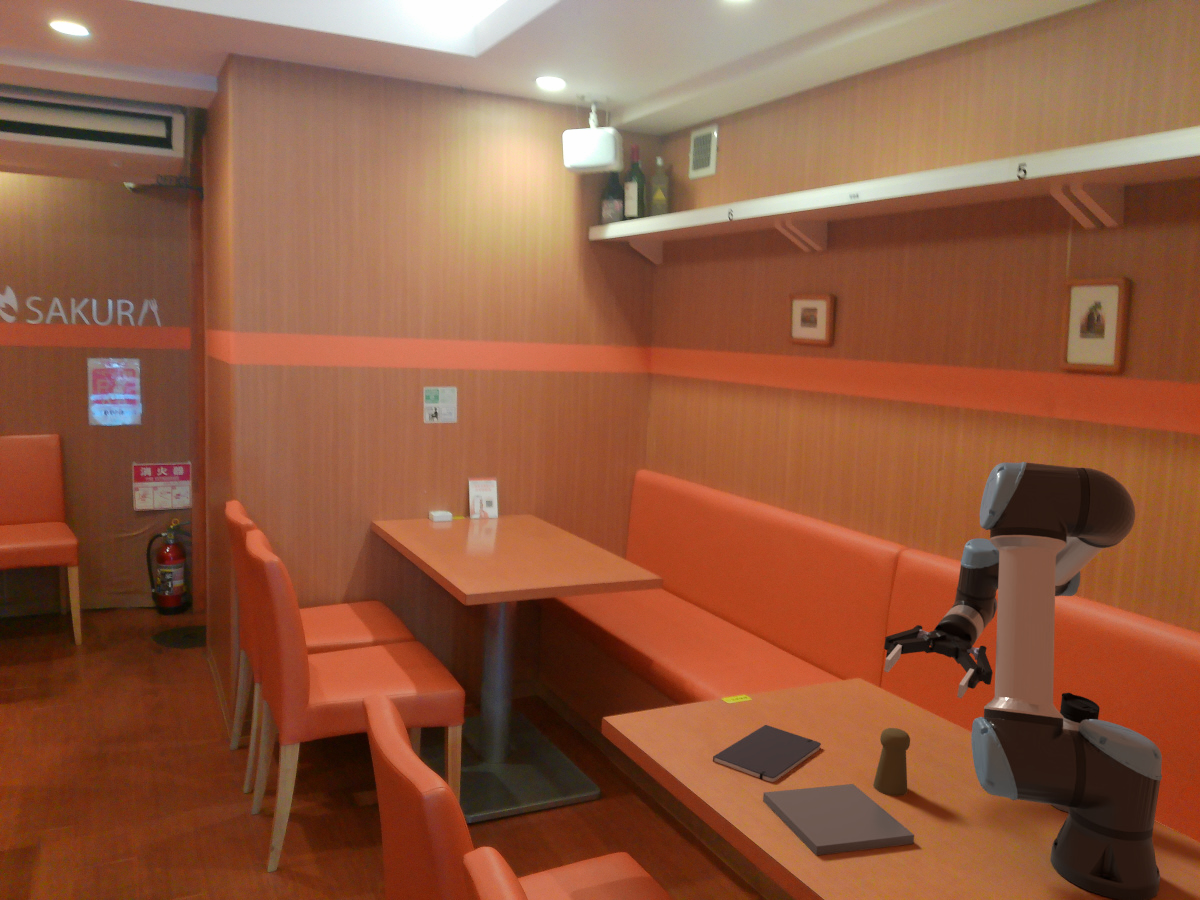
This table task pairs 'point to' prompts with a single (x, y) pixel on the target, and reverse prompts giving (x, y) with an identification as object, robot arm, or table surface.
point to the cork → (892, 763)
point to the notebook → (767, 753)
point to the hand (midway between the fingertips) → (922, 678)
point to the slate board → (837, 819)
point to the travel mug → (1076, 716)
